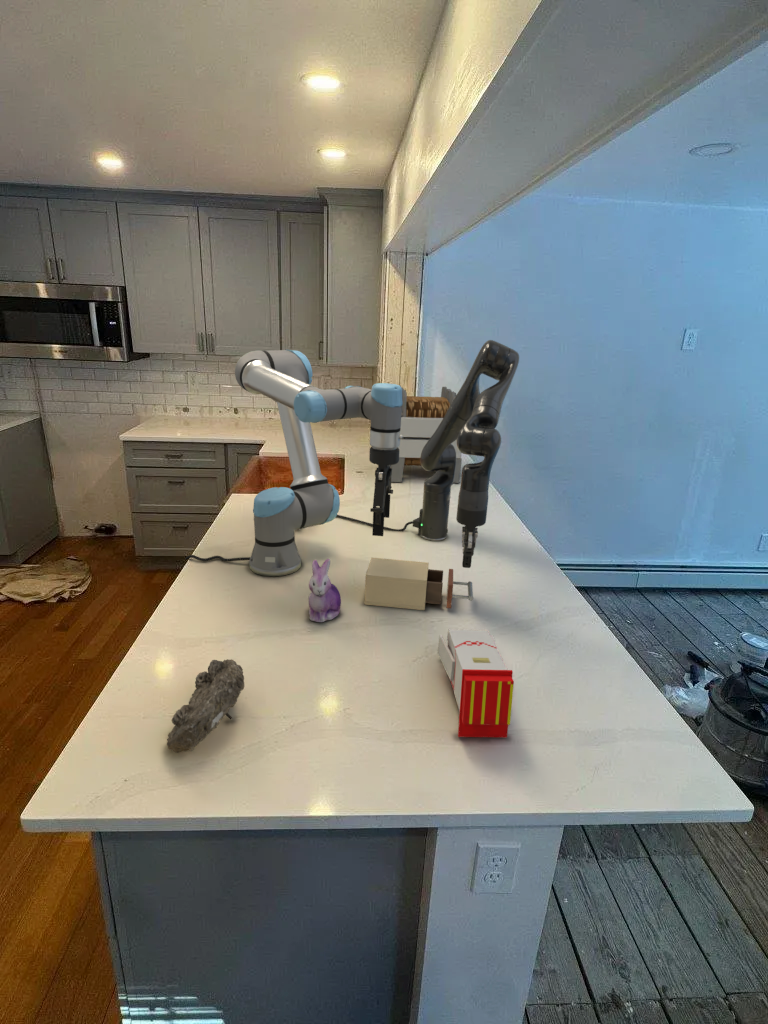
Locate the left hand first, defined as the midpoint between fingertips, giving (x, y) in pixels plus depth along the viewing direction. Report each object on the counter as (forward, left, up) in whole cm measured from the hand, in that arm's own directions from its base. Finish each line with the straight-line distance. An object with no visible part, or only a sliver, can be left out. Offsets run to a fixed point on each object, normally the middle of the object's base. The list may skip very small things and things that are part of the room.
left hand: (381, 525), depth 149 cm
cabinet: (+5, +2, -21) cm, 21 cm away
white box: (-37, +122, -21) cm, 129 cm away
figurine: (-8, -16, -21) cm, 27 cm away
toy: (+35, -28, -21) cm, 50 cm away
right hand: (+22, +7, -9) cm, 25 cm away
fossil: (-6, -59, -21) cm, 63 cm away
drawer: (+15, +5, -20) cm, 25 cm away
